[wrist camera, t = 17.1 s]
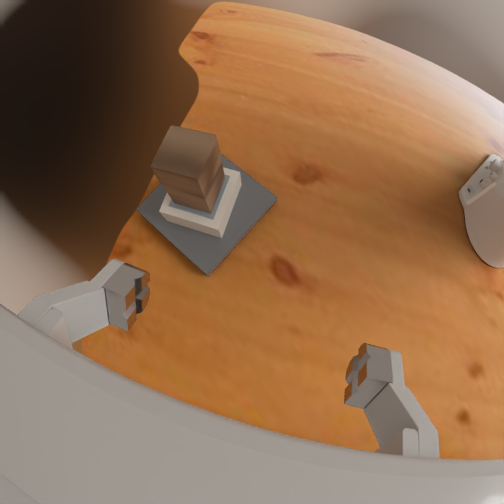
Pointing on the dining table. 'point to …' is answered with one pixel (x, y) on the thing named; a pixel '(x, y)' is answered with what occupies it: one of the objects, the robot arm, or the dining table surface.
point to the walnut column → (190, 168)
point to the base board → (210, 218)
